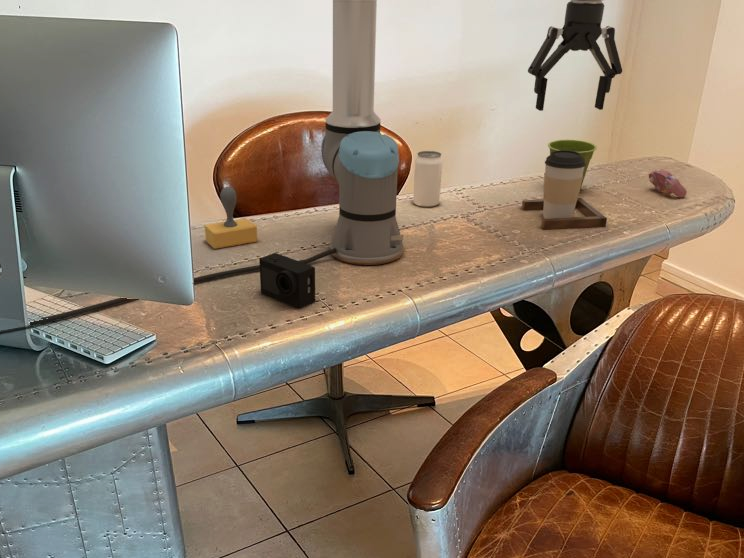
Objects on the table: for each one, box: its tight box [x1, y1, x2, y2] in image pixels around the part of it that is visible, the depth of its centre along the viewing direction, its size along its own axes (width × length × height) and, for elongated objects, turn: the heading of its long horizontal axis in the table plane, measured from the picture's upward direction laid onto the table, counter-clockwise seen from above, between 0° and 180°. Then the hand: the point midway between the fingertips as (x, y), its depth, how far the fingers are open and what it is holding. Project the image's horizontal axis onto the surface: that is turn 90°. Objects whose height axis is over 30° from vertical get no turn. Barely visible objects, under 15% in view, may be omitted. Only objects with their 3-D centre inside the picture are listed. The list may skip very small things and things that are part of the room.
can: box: [412, 150, 443, 208], centre depth 195 cm, size 6×6×12 cm
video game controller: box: [648, 168, 688, 199], centre depth 204 cm, size 10×5×7 cm, turn 17°
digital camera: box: [258, 252, 316, 309], centre depth 149 cm, size 10×5×7 cm, turn 47°
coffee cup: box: [542, 150, 586, 219], centre depth 186 cm, size 9×9×15 cm
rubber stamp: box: [204, 186, 258, 250], centre depth 172 cm, size 10×6×12 cm, turn 117°
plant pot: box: [547, 139, 598, 191], centre depth 204 cm, size 12×12×11 cm
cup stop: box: [521, 197, 608, 230], centre depth 189 cm, size 15×15×2 cm
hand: (569, 109), depth 178 cm, fingers open, 13 cm apart
